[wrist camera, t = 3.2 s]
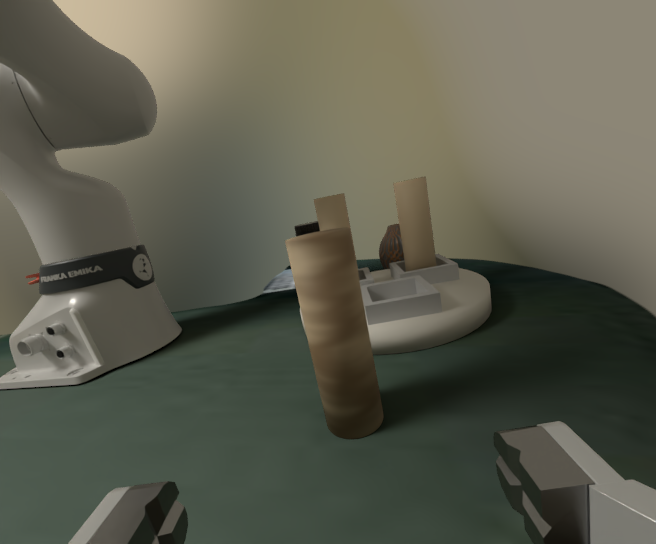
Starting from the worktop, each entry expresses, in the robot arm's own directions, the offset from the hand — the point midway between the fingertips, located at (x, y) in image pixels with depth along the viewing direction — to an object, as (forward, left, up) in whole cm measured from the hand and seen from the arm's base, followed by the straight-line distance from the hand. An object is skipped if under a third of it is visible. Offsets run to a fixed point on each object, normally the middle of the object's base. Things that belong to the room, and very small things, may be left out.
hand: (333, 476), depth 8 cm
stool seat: (+6, +31, -8) cm, 33 cm away
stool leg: (0, +12, -8) cm, 15 cm away
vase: (+11, +48, -8) cm, 50 cm away
